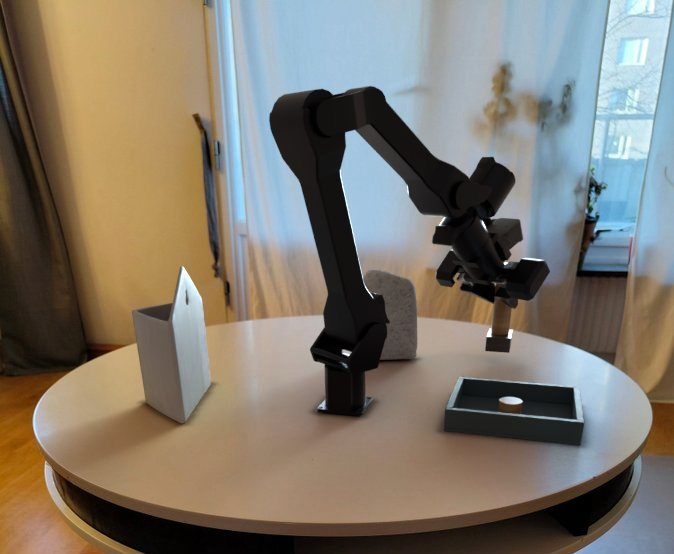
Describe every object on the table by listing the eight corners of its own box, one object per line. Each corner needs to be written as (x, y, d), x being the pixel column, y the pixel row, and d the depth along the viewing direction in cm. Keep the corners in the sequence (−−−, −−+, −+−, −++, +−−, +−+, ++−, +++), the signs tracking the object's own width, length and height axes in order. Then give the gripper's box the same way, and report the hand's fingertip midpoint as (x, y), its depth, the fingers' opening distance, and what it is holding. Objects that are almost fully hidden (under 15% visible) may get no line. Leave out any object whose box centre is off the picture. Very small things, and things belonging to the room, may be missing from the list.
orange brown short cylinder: (520, 419, 81) (522, 405, 80) (497, 417, 82) (498, 403, 81) (521, 411, 83) (523, 397, 83) (498, 409, 84) (500, 395, 83)
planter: (162, 384, 97) (144, 257, 89) (211, 384, 97) (198, 257, 89) (126, 423, 83) (101, 276, 74) (185, 423, 82) (166, 276, 74)
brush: (509, 352, 103) (518, 267, 97) (485, 351, 104) (493, 266, 98) (511, 343, 108) (520, 261, 102) (488, 342, 109) (495, 260, 103)
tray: (580, 445, 74) (584, 422, 73) (443, 430, 79) (445, 409, 78) (576, 406, 86) (579, 386, 85) (457, 395, 91) (458, 376, 89)
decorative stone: (416, 353, 111) (420, 268, 105) (417, 363, 106) (420, 274, 99) (356, 352, 112) (356, 268, 106) (354, 362, 107) (354, 274, 100)
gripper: (551, 202, 87) (581, 273, 98) (451, 198, 100) (487, 261, 111) (512, 265, 86) (546, 330, 97) (415, 252, 99) (456, 311, 110)
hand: (507, 305), depth 104 cm, fingers closed on brush, 3 cm apart
